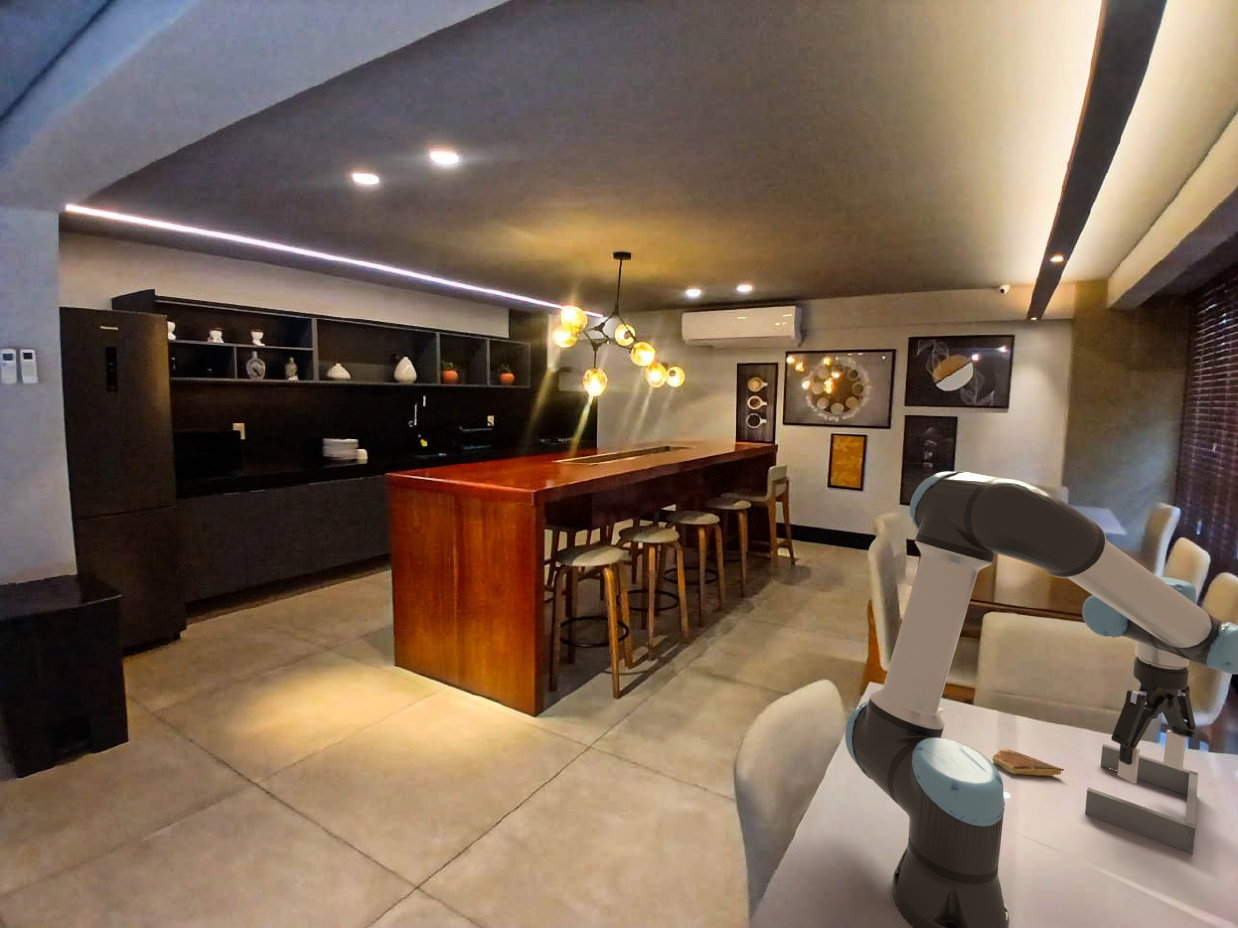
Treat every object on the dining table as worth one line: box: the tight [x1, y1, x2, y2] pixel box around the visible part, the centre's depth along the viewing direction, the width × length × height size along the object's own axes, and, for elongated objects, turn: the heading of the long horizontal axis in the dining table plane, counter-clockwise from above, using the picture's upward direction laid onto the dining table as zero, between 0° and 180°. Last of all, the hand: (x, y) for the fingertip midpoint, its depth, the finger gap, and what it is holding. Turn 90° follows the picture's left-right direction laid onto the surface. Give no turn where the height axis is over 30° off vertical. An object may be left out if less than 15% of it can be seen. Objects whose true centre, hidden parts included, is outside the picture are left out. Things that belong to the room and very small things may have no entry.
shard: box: [992, 748, 1065, 777], centre depth 125 cm, size 11×8×2 cm
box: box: [1084, 743, 1199, 854], centre depth 116 cm, size 14×22×4 cm, turn 136°
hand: (1150, 772), depth 115 cm, fingers open, 12 cm apart
